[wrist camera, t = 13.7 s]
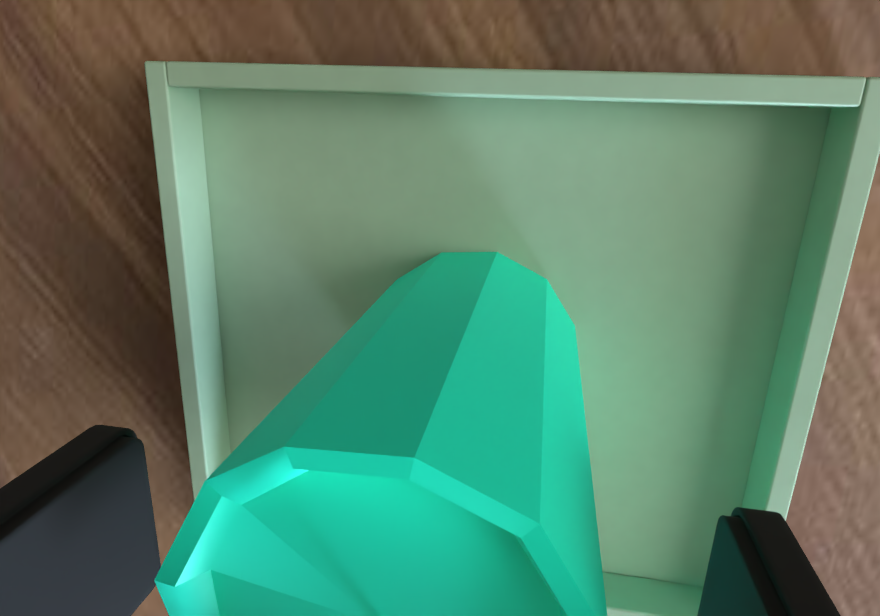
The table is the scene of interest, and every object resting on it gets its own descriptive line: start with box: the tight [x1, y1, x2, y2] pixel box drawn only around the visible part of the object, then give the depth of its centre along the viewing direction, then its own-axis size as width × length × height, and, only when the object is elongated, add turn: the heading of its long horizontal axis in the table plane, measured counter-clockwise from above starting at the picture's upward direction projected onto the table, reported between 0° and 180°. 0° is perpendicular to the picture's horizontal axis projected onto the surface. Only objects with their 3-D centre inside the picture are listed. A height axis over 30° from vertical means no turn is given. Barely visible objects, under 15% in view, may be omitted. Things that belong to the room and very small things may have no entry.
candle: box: [154, 252, 607, 616], centre depth 12 cm, size 6×6×12 cm
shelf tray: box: [145, 61, 880, 616], centre depth 17 cm, size 17×15×2 cm
